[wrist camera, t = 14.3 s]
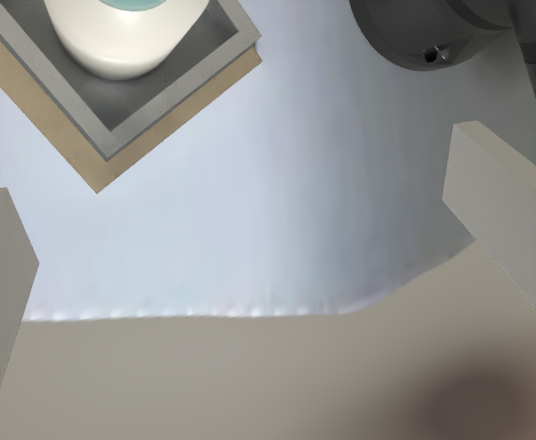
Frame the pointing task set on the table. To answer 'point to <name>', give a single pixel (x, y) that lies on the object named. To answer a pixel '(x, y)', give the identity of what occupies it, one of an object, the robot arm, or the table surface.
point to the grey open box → (118, 86)
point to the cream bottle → (121, 32)
